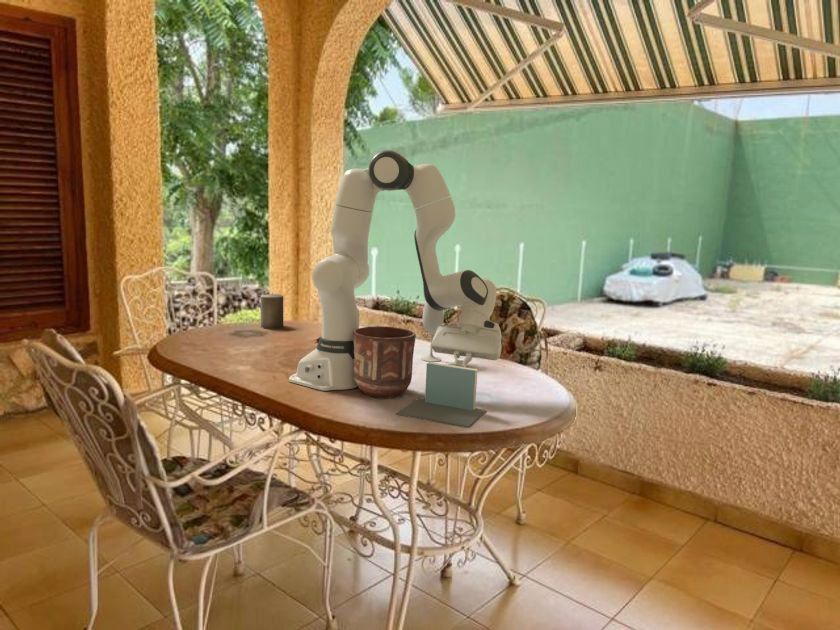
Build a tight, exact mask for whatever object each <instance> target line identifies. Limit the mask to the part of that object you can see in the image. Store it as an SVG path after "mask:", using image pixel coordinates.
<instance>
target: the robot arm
mask: <svg viewBox="0 0 840 630" xmlns="http://www.w3.org/2000/svg"><path fill="white" fill-rule="evenodd" d="M436 166H437V165H436ZM436 166H435V165H434V164H431V163H421V164H418V165H413V164H411V163H410V162H409V160H408V159H407V157H405V155H403V154H402V153H401V152H399V151H397V150H389V149H388V150H387V149H386V150H382V151H379V152H377V153H376V154H375V155H373V156H372V158H371V160H369V164H368V167H367V168H351V169H348V170H346V171H345V172H344V174H343V175H342V178H341V180H340V183H339V186H338V189H337V192H336V193H337V194H336V198H335V202H334V208H333V213H332V214H333V215H332V218H331V225H330V234H331V236H332V248H333V250H332V251H333V252H332V255H329V256H326V257H324V258H323V259H321V260H320V261H319V262H317V263H316V264H315V265H314V267H313V269H312V271H311V279H312V282H313V285H314V287H315V288H316V290H317V293H318V298H319V302H320V306H321V336H320V337H318V338H317V339H313V341H314V342H313V344H314V345H315V344H317V345H316V348H315V349H313V350H312V351H310V353H309V352H308V354H306V355H305V356H304V357H302V358H301V359H300V360H299V362H298V363H297V369H296V373H293V374H292V375H290V376H288V377H289V378H288V382H289V383H293V384H296V385H297V384H298V385H300V386H304V387H308V388H312V389H315V390H319V391H322V392H323V391H324V392H325V391H326V392H327V391H335V390H350V389H355V388H359V387H358V386H357V384H356V382H355V379H354V360H355V357H354V340H353V332H354V330H356V329H359V328H360V317H361V316H360V315H361V313H360V311H359V308H358V306H357V302H356V296H355V289H358V288H360V287H361V286H362V285H363V284H364V283H365V282H366V281H367V279H368V278H369V276H370V266H369V264H368V261H369V260H368V258H369V256H368V255H369V254H368V253H369V252H368V251H369V248H368V247H369V246H368V245H369V234H370V228H371V223H372V218H373V214H374V213H373V212H374V206H375V202H376V199H377V196H378V194H379V193H381V192H382V191H386V192H387V191H388V192H389V191H390V192H394V191H398V190H399V191H401V190H403V191H404V192H406V193H407V195H408V196H409V198H410V201H411V203H412V206H413V210H414V212H415V217H416V229H415V230H414V235H413V237H414V244H415V250H416V254H417V255H416V256H417V260H418V263H419V264H418V265H419V269H420V273H421V278H422V285H423V297H424V300H425V302H427V304H428V305H429V306H430V307H431V308H433V309H434V310H436V311H442V310H443V311H445V310H449V309H451V308H455V307H461V309H462V311H461V312H460V316H459V318H458V321H457V325H456V324H455V325H453V324H448V323H447V324H446V323H445V324H444V323H443V325H441V326H439V327H438V328H437V330H436V333H435V334H434V335H433V340H432V342H431V341H430V347H431V346H432V351H433V352H434V353H436V354H437V353H438V354H445V355H453V357H454V364H453V366H459V367H466V368H467V365H469V363H470V362H471V361H472V360H473V358H474V359H475V358H476V359H482V360H488V361H489V360H490V361H498V360H499V359H500V357H501V352H502V338H503V337H502V331H501V327H500V326H499V323H497V322H494V321H493V320H490V318H491V316H492V315H493V312H494V309H495V305H496V301H497V296H498V293H497V287H496V284H494V283H493V281H492V280H490V279H489V278H484V277H480V276H479V274H477V273H476V272H475V271H473V270H470V269H467V270H461V271H457V272H453V273H451V274H447V275H442V274H441V271H440V270H441V269H440V266H439V262H438V261H439V260H438V257H437V252H436V251H437V250H436V246H437V243H438V241H439V239H441V237H442V236H443V235H445V233H447V231H449V229H450V228H451V227H452V225H453V223H454V222H455V218H456V209H455V204H454V202H453V199H452V196H451V193H450V190H449V188H448V186H447V183H446V181H445V179H444V177H443V175H442V174H441V172H440V170H439V169H438V167H436ZM461 357H465V358H464V359H463V360H460V358H461Z"/></svg>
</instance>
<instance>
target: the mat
mask: <svg viewBox="0 0 840 630" xmlns="http://www.w3.org/2000/svg"><path fill="white" fill-rule="evenodd" d="M486 412H487V409H483V408H478V407H475V409H474V410H467V409H462V408H456V407H450V406H445V405H439V404H433V403H427V402H425V398H421V397H418V398H416V399H415V400H413V401H412V402H410V403H408V404H407V405H406V406H405V407H402V408H401V409H399V410H398V411H397V412H395V415H397V416H403V417H408V418H414V419H419V420H424V421H430V422H434V423H439V424H445V425H451V426H456V427H460V428H461V427H463V428H467V429H469V428H470V427H471V426H472V425H473V424H475V422H476V421H477V420H478V419H480V417H482V416H483V415H484V414H486Z"/></svg>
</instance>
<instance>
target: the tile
mask: <svg viewBox="0 0 840 630" xmlns="http://www.w3.org/2000/svg"><path fill="white" fill-rule="evenodd" d="M425 369H426V371H425V392H424V393H425V394H424V399H425V402H427V403H433V404H439V405H445V406H450V407H456V408H462V409H467V410H474V409H475V408H476V399H477V384H478V372H479V371H478V368H472V367H467V366H466V367H459V366H454V364H453V365H452V364H451V365H450V364H445V363H438V362H427V363H426V368H425Z"/></svg>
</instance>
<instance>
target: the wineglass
mask: <svg viewBox="0 0 840 630" xmlns="http://www.w3.org/2000/svg"><path fill="white" fill-rule="evenodd" d="M422 312H423V313H422V317H421V319H422V320H421V321H422V325H423V327H424V329H425V330H426V331H427V333H429V334H430V335H429V336H430V343H431V342H432V340H433V338H434V336H435V334H436V330H437V328H438V327H439V326H441V325H443V324H444V310H442V311H436V310H434V309H433V308H431V307H430V306H429V305H428V304H427V302H426V301H424V305H423V310H422ZM420 360H421V361H424V362H427V363H429V362H432V363H438V362H441V361H442V358H440V357H438V356H434V355H433V349H432V346H431V345H430V350H429V355H426V356H422V357H421V358H420Z"/></svg>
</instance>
